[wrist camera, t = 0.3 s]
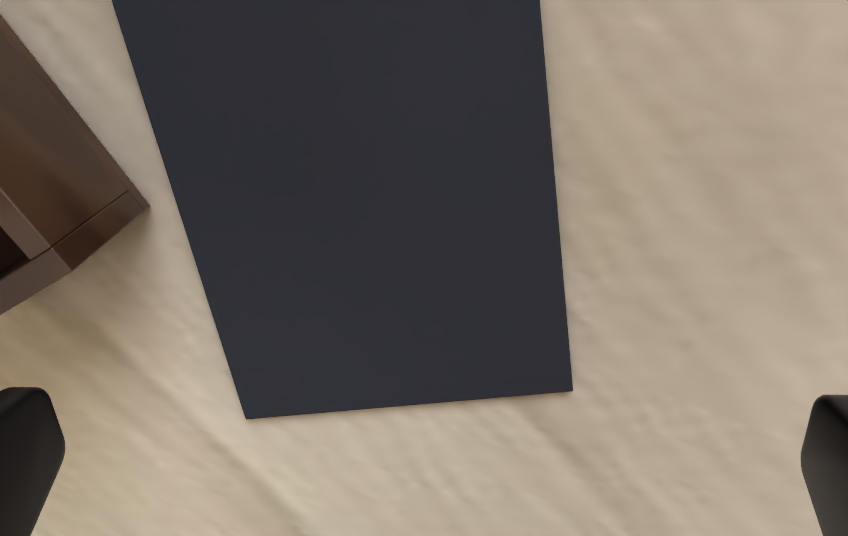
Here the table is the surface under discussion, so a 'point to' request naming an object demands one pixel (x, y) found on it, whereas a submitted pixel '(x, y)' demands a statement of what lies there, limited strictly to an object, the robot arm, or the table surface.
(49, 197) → the wooden box
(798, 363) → the table surface
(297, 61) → the felt pad
